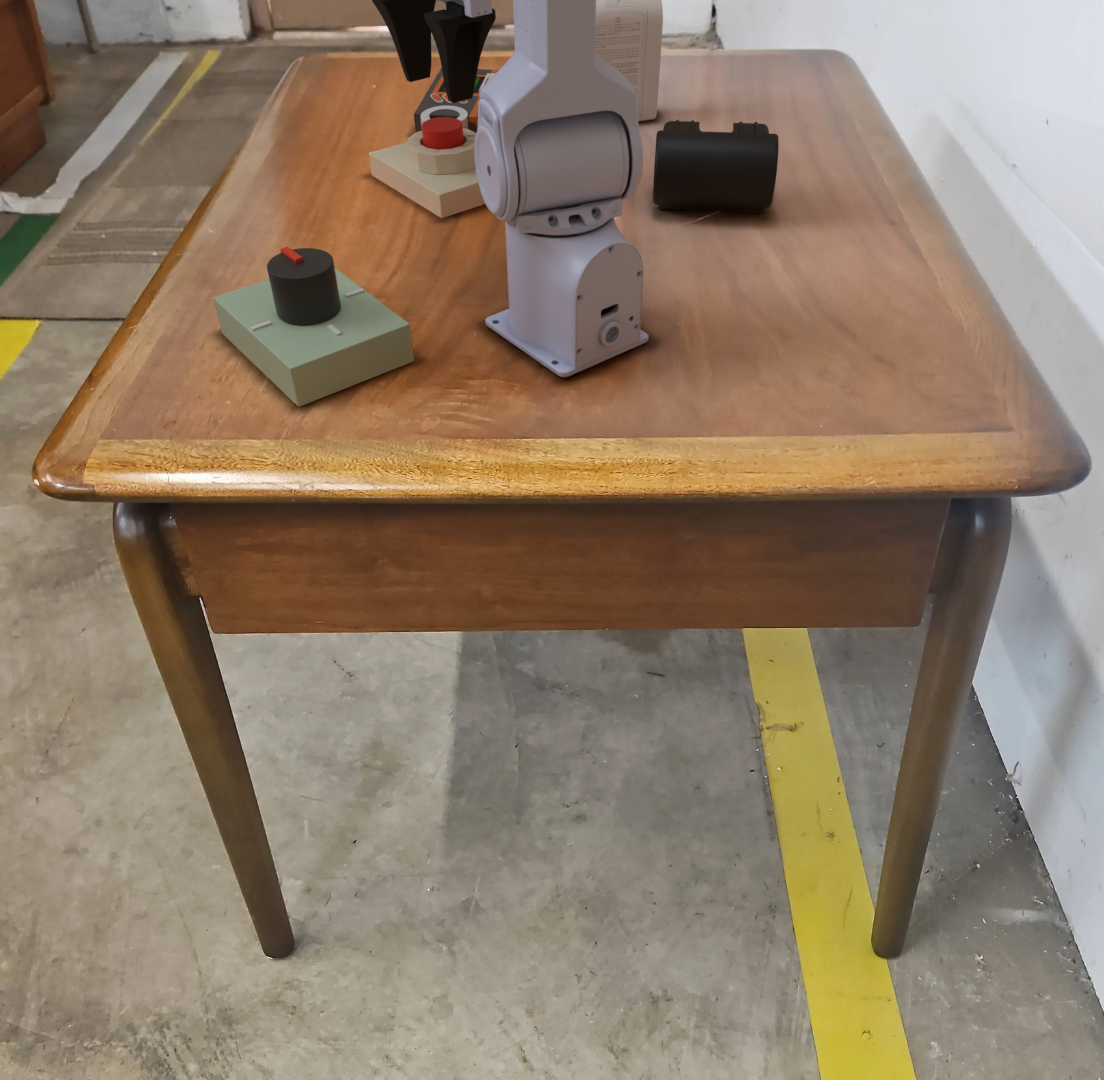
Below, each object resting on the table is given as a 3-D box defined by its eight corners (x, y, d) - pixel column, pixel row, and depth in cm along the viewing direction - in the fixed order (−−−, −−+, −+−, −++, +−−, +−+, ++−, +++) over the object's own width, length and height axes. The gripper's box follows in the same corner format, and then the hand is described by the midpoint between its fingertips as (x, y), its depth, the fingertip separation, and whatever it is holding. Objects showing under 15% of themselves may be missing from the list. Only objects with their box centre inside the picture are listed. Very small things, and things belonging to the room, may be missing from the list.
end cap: (651, 223, 87) (655, 144, 83) (654, 189, 92) (658, 112, 88) (769, 228, 86) (780, 148, 82) (766, 193, 91) (776, 116, 87)
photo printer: (650, 107, 108) (657, -23, 99) (662, 121, 105) (670, -12, 96) (555, 116, 106) (554, -15, 98) (565, 131, 103) (565, -4, 95)
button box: (525, 192, 92) (523, 147, 90) (441, 219, 88) (437, 173, 85) (451, 152, 99) (448, 110, 97) (371, 176, 95) (365, 132, 93)
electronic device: (407, 120, 99) (441, 62, 110) (410, 149, 101) (444, 90, 112) (475, 123, 98) (503, 65, 109) (477, 153, 100) (504, 93, 111)
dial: (353, 310, 70) (344, 260, 68) (296, 332, 68) (286, 280, 66) (320, 287, 73) (311, 237, 70) (265, 307, 71) (254, 257, 68)
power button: (471, 145, 91) (470, 125, 90) (437, 155, 89) (436, 134, 88) (449, 133, 93) (447, 113, 92) (415, 142, 92) (413, 123, 90)
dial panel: (414, 361, 71) (409, 321, 69) (298, 407, 67) (289, 366, 65) (331, 295, 78) (324, 257, 76) (221, 334, 74) (211, 294, 72)
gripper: (332, -101, 81) (356, 77, 91) (431, -70, 73) (446, 123, 82) (408, -112, 85) (423, 60, 94) (511, -84, 76) (517, 103, 85)
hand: (439, 89), depth 88 cm, fingers open, 6 cm apart
